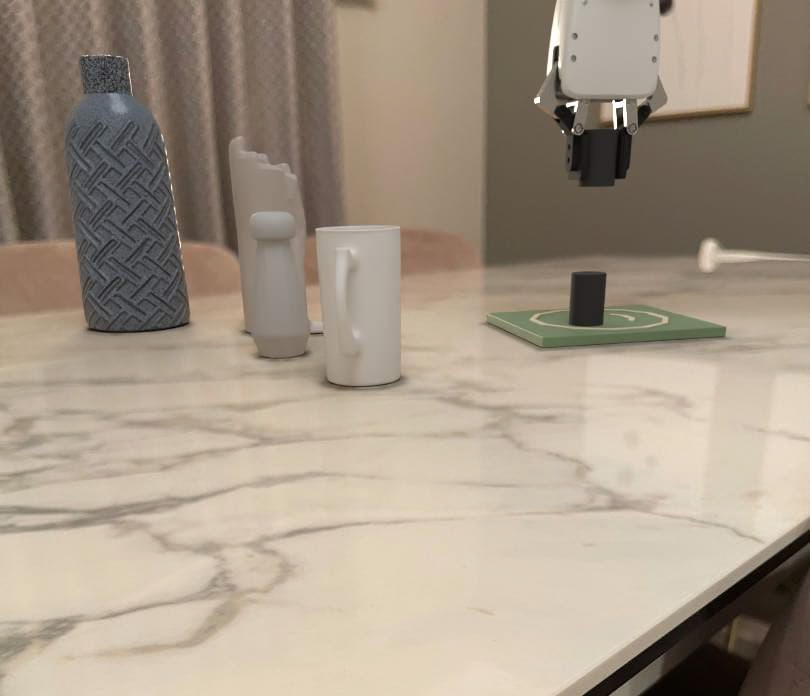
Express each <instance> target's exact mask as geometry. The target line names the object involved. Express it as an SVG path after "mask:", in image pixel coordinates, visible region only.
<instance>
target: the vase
mask: <svg viewBox="0 0 810 696" xmlns="http://www.w3.org/2000/svg"><path fill="white" fill-rule="evenodd" d="M77 62H78V68H79V75H80V82H81V88H82V89H81V90H82V94H83V95H82V96H81V98H80V99H79V100H78V101H77V102H76V103H75V104H74V105H73V107H72V108H71V109H70V111H69V113H68V115H67V117H66V120H65V123H64V128H63V155H64V164H65V172H66V181H67V187H68V196H69V205H70V212H71V219H72V228H73V236H74V243H75V253H76V259H77V268H78V275H79V283H80V291H81V298H82V299H81V300H82V307H83V314H84V319H85V322H86V324H87V326H88V328H90V329H93V330H97V331H101V332H111V333H112V332H113V333H131V332H133V333H134V332H149V331H158V330H166V329H171V328H175V327H179V326H182V325H184V324H186V323H188V322H189V321H190V318H191V308H190V300H189V293H188V286H187V279H186V274H185V272H186V271H185V266H184V261H183V252H182V247H181V246H182V245H181V240H180V239H181V238H180V235H179V234H180V232H179V225H178V219H177V213H176V206H175V199H174V192H173V187H172V186H173V185H172V180H171V173H170V165H169V159H168V154H167V149H166V143H165V141H164V136H163V134H162V129H160V126H159V124H158V122H157V120H156V118H155V117H154V116H153V114H152V113H151V112H150V110H149V109H148V108H147V107H146V106H144V104H142V103H141V102H140V101H139V100H138V99H136V98H135V97H134V95H133V90H132V81H131V75H130V66H129V59H128V58H127V57H124V56H122V55H121V56H120V55H111V54H88V55H80V56H79V57H78V58H77Z"/></svg>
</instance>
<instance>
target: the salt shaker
mask: <svg viewBox="0 0 810 696" xmlns="http://www.w3.org/2000/svg"><path fill="white" fill-rule="evenodd" d="M249 230H250V235H251V238H253V239H255V240H257V249H256V263H255V276H254V290H253V303H252V317H251V330H250V331H251V333H250V335H251V338H252V340H253V343H254V344H255V347H256V348H257V351H258V353H259V354H260V356H261V357H264V358H269V359H283V358H294V357H298V356H302V355H304V354H305V350H306V347H307V344H308V341H309V339H310V336H311V333H310V330H311V328H310V324H309V320H310V319H309V315H307V313H308V310H307V311H306V307H305V302H304V298H303V294H302V290H301V285H300V281H299V277H298V273H297V268H296V264H295V260H294V255H293V251H292V247H291V243H290V239H292V238H294V237H295V234H296V224H295V220H294V217H293V216H292V215H291V214H290V213H287V212H280V211H273V212H258V213H256V214H253V215H252V217H251V218H250V222H249Z"/></svg>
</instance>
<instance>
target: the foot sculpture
mask: <svg viewBox="0 0 810 696" xmlns="http://www.w3.org/2000/svg"><path fill="white" fill-rule="evenodd" d="M246 148H247V147H246V138H245V137H244V136H242V135H239V136H236V137H234V138H232V139H231V140H230V142H229V146H228V159H229V169H230V170H229V171H230V180H231V182H230V183H231V191H232V192H231V193H232V201H233V209H234V210H233V211H234V217H235V225H236V237H237V247H238V263H239V277H240V289H241V300H242V308H243V309H242V310H243V320H244V322H243V323H244V330H245V332H247V333H250V334H251V331H250V330H251V317H252V303H253V290H254V276H255V263H256V249H257V240H255V239H253V238H251V235H250V230H249V222H250V218H251V217H252V215H253V214H256V213H258V212H273V211H280V212H287V213H290V214H291V215H292V216H293V217H294V220H295V224H296V234H295V237H294V238H292V239H290V243H291V247H292V251H293V255H294V260H295V264H296V268H297V273H298V277H299V281H300V285H301V290H302V294H303V298H304V302H305V307H306V311H307V315H308V301H307V299H308V298H307V283H306V270H305V269H306V268H305V267H306V266H305V255H306V252H307V247H308V243H307V241H308V239H307V221H306V216H305V210H304V206H303V202H302V197H301V192H300V188H299V181H298V176H297V175H296V174H294V173H292V171H291V168H290V167H291V166H290V164H289V163H287V162H283V163H280V164H279V163H278V164H274V165H273V164H271V163H270V161H269V156H268V155H267V154H265V153H258V152H256V151H247V149H246ZM308 316H309V315H308ZM309 324H310V328H311V330H310V334H323V324H322V320H310V319H309Z"/></svg>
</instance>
